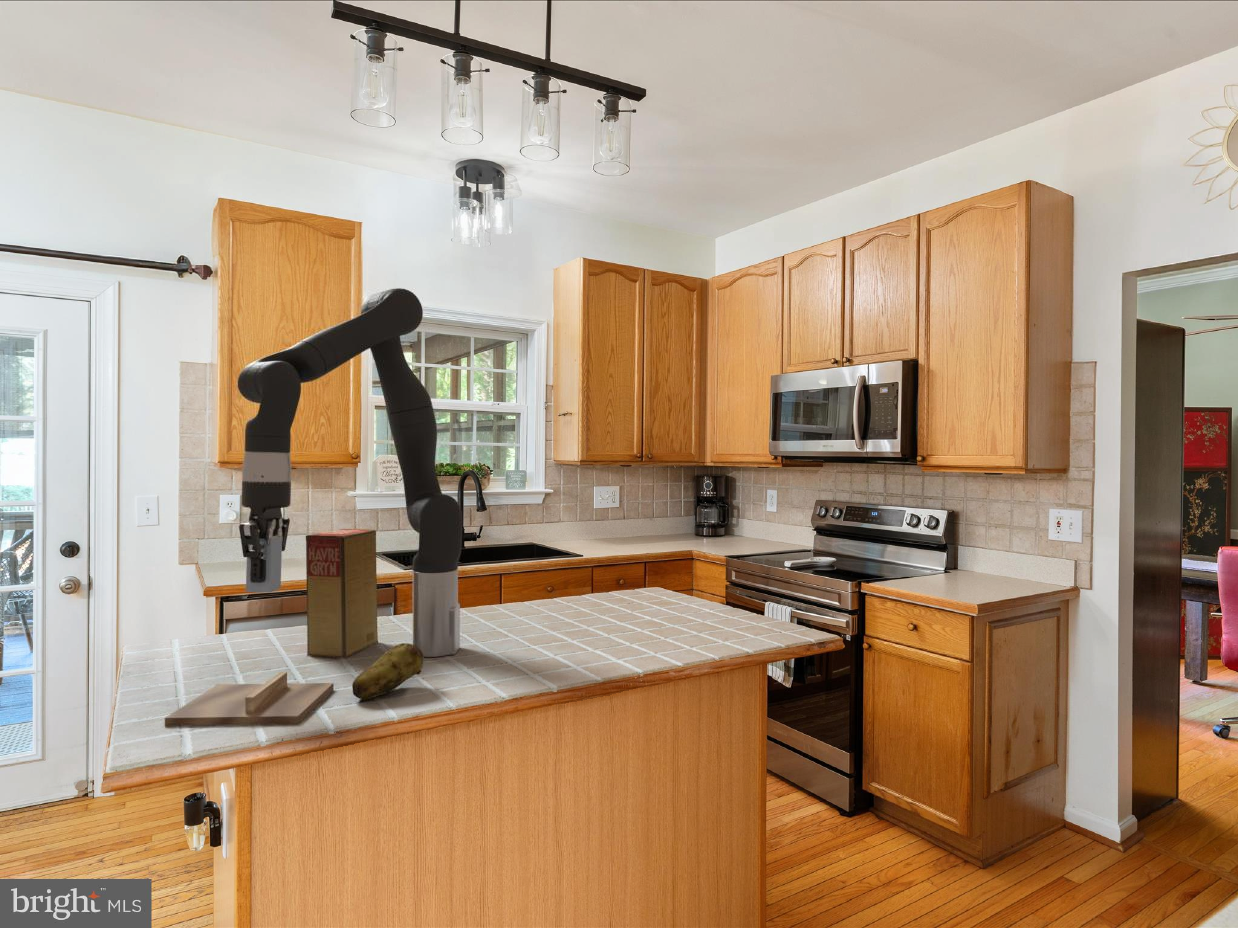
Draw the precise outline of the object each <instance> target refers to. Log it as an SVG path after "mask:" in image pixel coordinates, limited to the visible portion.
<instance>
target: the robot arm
mask: <svg viewBox="0 0 1238 928" xmlns="http://www.w3.org/2000/svg"><path fill="white" fill-rule="evenodd" d="M423 313H424V311H423V306H422V303H421V301H420V299H419V297H417V296H416V294H415V293H414V292H413V291H411V290H409V289H405V288H402V287H401V288H400V287H399V288H396V287H395V288H390V289H388V290H383V291H380V292H376V293H374V294H370V295H369V296H367V297H365V299H364V300H363V301H362V303H361V306H360V314H359V315H357V316H355V317H353V318H351V319H348V320H346V321H345V320H344V321H342V322H341V323H338V324H335V325H332V326H330V327H326V329H322V330H320V331H318V332H317V333H314V334H312V335H309V336H308V337H307V338H305V339H302V340H301V341H299V342H297V343H296V344H294V345H292V346H290V347H288V348H286V349H283V350H281V351H278V352H275V353H273V354H272V353H271V354H269V355H266V356H264V357H261V358H259V359H257V360H255V361H253V362H251V363H249V364H247V365H246V366H245V367H244V368H243V369H241V371H240V373H239V375H238V377H237V378H238V379H237V389H238V391H239V393H240V394H241V396H243V398H245V399H246V400H247V401H249V402H251V403H256V404H259V407H258V412H257V414H256V415H255V416H254V417H252V418H250V419H248V420H247V422H246V425H245V429H244V456H243V461H242V469H241V470H242V471H241V506H242V507H243V508H249V510H250V511H249V516H248V522H245V523H244V522H243V523H242V522H241V523H239V524H238V525H239V526H238V529H239V535H240V536H239V537H240V542H241V550H242V556H243V558H247V557H248V558H249V560H251V573H250V581H251V582H252V583H262V582H264V581H265V580H266V560H265V559H266V555H267V547H268V546H269V545H270V539H271V538H272V536H278V537H280V536H282V552H285V551H286V545H287V539H288V535H289V528H290V521H291V520H290V518H289V517H283V513H282V509H283V508H289V507H290V506H291V501H292V499H291V498H292V497H291V496H292V495H291V494H292V459H291V444H292V443H291V442H292V441H291V434H292V432H291V429H292V426H293V423H294V420H295V417H296V414H297V410H298V406H299V403H300V399H301V394H302V384H305V383H309V382H314V381H316V380H318V379H321V378H322V377H323V376H326V375H327V374H329V373H330V372H332V371H334V370H336V369H337V368H339V367H340V366H342V365H344V364H346V363H347V362H349V361H350V360H352V359H353V358H355V357H357V356H359V355H361V354H362V353H364V352H366V351H367V350H368V349H370V351H371V355H372V358H373V361H374V364H375V368H376V371H377V375H378V379H379V383H380V387H381V391H382V395H383V399H384V404H385V405H384V406H385V408H386V409H385V411H386V415H387V416H386V417H387V419H388V424H389V429H390V434H391V436H392V440H393V443H394V448H395V449H394V450H395V452H396V456H397V459H398V460H397V461H398V464H399V467H400V472H401V476H402V482H403V490H404V498H405V499H404V501H405V508H406V515H407V521H408V523H409V525H410V527H411V528H412V529H413V530H414V531H415V532H417V534H418V548H417V549H418V550H417V553H416V555H414V556H413V558H412V645H415V646H417V647H418V648H419V649H420V650H421V651H422V653H423V658H424V657H425V658H426V657H428V658H431V657H432V658H433V657H434V658H435V657H443V656H448V655H449V656H450V655H456V654H457V652H458V650H459V649H460V647H461V643H460V642H461V604H460V602H459V598H458V597H459V593H458V592H459V582H458V581H459V580H458V578H459V570H458V569H459V561H460V557H461V554H462V545H463V544H462V543H463V513H462V509H461V506H460V504H459V502H458V501H457V500H456V499H455V498H454V497H452V496H451V495H448V494H444V493H443V492H442V489H441V487H440V482H439V478H438V474H437V470H436V453H437V443H438V442H437V441H438V427H437V419H436V416H435V411H434V407H433V406H434V405H433V402H432V398H431V396H430V394H429V393H428V391H427V389H426V387H425V386H424V385H423V383H422V382H421V380H420V379H419V378H418V376H417V375H416V374H415V372H414V371H413V370H412V368H411V367H410V365H409V364H408V362H407V360H406V356H405V354H404V350H403V345H402V341H401V337H402V336H405V335H408V334H410V333H412V332H414V331H415V330H417V328H419V326H420V325H421V323H422V321H423V315H424V314H423ZM265 538H266V539H265ZM260 539H265V540H264V541H260ZM248 545H249V546H250V548H249V546H248ZM261 546H262V548H261Z"/></svg>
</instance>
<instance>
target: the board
mask: <svg viewBox="0 0 1238 928" xmlns="http://www.w3.org/2000/svg"><path fill="white" fill-rule="evenodd" d="M333 691H334V682H320V683H319V682H318V683H317V682H314V683H313V682H312V683H311V682H309V683H307V682H305V683H298V682H297V683H288V672H287V671H279V672H278V673H277V674H275V675H274V676H273V677H271V678H270V679H268V680H267V681H266V682H264V683H232V684H228V683H227V684H226V683H225V684H224V683H221V684H216V685H214V686H213V687H211V688H209V689H208V690H206V691H205V692H203V693H201V694H200V695H198V696H197V697H195V698H193V699H192V700H191V701H189V702H188V703H186V704H184V705H183V706H181V707H180V708H178V709H177V710H175V711H173V712H171V713H169V715H167V716H166V717H164V726H165V727H166V726H167V727H172V726H174V727H175V726H180V727H181V726H230V725H231V726H235V725H236V726H237V725H238V726H239V725H241V726H242V725H244V726H245V725H247V726H248V725H295V724H296V725H298V724H299V723H300V722H301V721H302V720H304V719H305V718H306V717H307V716H308V715H309V714H310V713H311V712H312V711H313V710H314V709H315V708H316V707H317V706H319V704H320V703H321V702H322V701H324V700H325V699H326V698H327V696H329V695H330V694H331V693H332V692H333Z"/></svg>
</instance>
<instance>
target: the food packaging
mask: <svg viewBox="0 0 1238 928" xmlns="http://www.w3.org/2000/svg"><path fill="white" fill-rule="evenodd" d="M305 544H306V545H305V551H306V552H305V558H306V559H305V563H306V564H305V565H306V566H305V568H306V572H305V573H306V577H305V578H306V614H307V615H306V625H307V626H306V627H307V629H306V630H307V631H306V633H307V634H306V635H307V641H306V642H307V643H306V644H307V645H306V649H307V651H306V652H307V653H306V654H307V655H306V656H307V657H317V658H318V657H320V658H333V659H335V658H336V659H345V658H349V657H350V656H353V655H354V654H356V653H358V652H361V651H363V650H364V649H367V648H369V647H371V646H373V645H375V644H377V643H379V639H378V638H379V637H378V586H377V584H378V582H377V531H376V529H370V528H369V529H368V528H365V529H364V528H363V529H362V528H340V529H334V530H329V531H324V532H323V531H322V532H319V533H314V534H313V533H312V534H306V535H305Z"/></svg>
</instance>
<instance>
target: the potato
mask: <svg viewBox="0 0 1238 928" xmlns="http://www.w3.org/2000/svg"><path fill="white" fill-rule="evenodd" d="M423 662H424V656H423V653H422V651H421V650H420V649H419V648H418V647H417V646H415V645H413V643H408V642H407V643H399V644H395V645H393V647H391V648H389V649H388V650H386V651H385V652H384V653H383V654H382V655H380V657H379V658H378V659H377V660H376V661H374V663H373V664H372V665H370V666H369V667H367V668H366V669H364V670H363V671H362V672H361V673H360V674H358V675H357V676H356V677H355V678H354V680H353V681H352V684H351V686H352V694H353V696H355V697H356V698H358V699H360V700H362V701H365V700H366V701H367V700H371V699H373V698H374V697H378V696H381V695H385V694H388V693H390V692H392V691H393V690H395V689H397V688H398V687H399V686H401V685H402V684H403V683H405V681H407V680H408V679H410V678H412V677H413V676H415V675H420V674H421V673H422V670H421V669H422V666H423V664H424V663H423Z"/></svg>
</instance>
